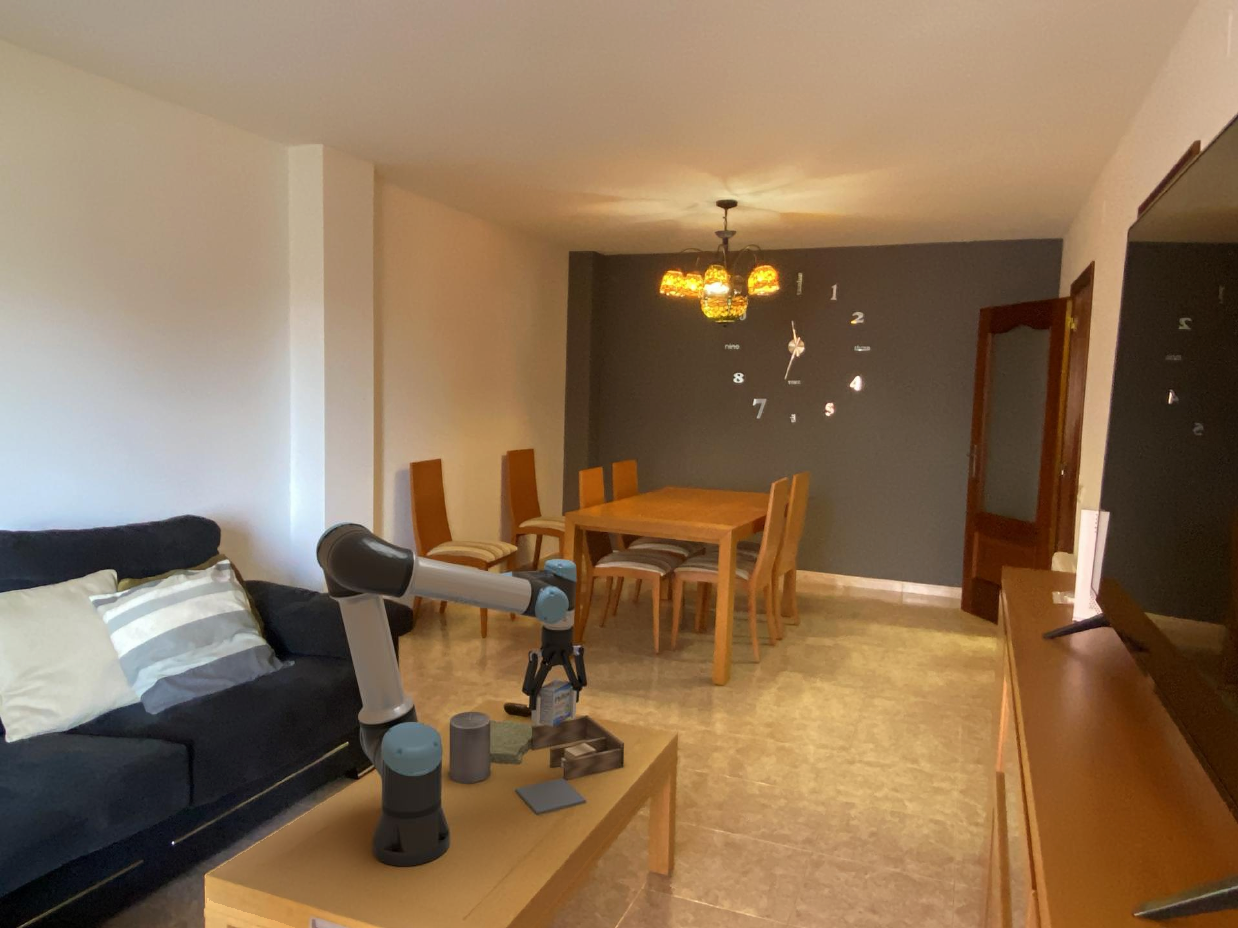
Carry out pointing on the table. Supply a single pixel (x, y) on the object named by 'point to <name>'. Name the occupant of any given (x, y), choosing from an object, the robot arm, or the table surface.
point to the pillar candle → (469, 747)
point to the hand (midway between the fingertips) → (553, 719)
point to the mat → (550, 796)
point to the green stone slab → (509, 741)
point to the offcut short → (578, 751)
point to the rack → (575, 730)
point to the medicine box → (555, 702)
